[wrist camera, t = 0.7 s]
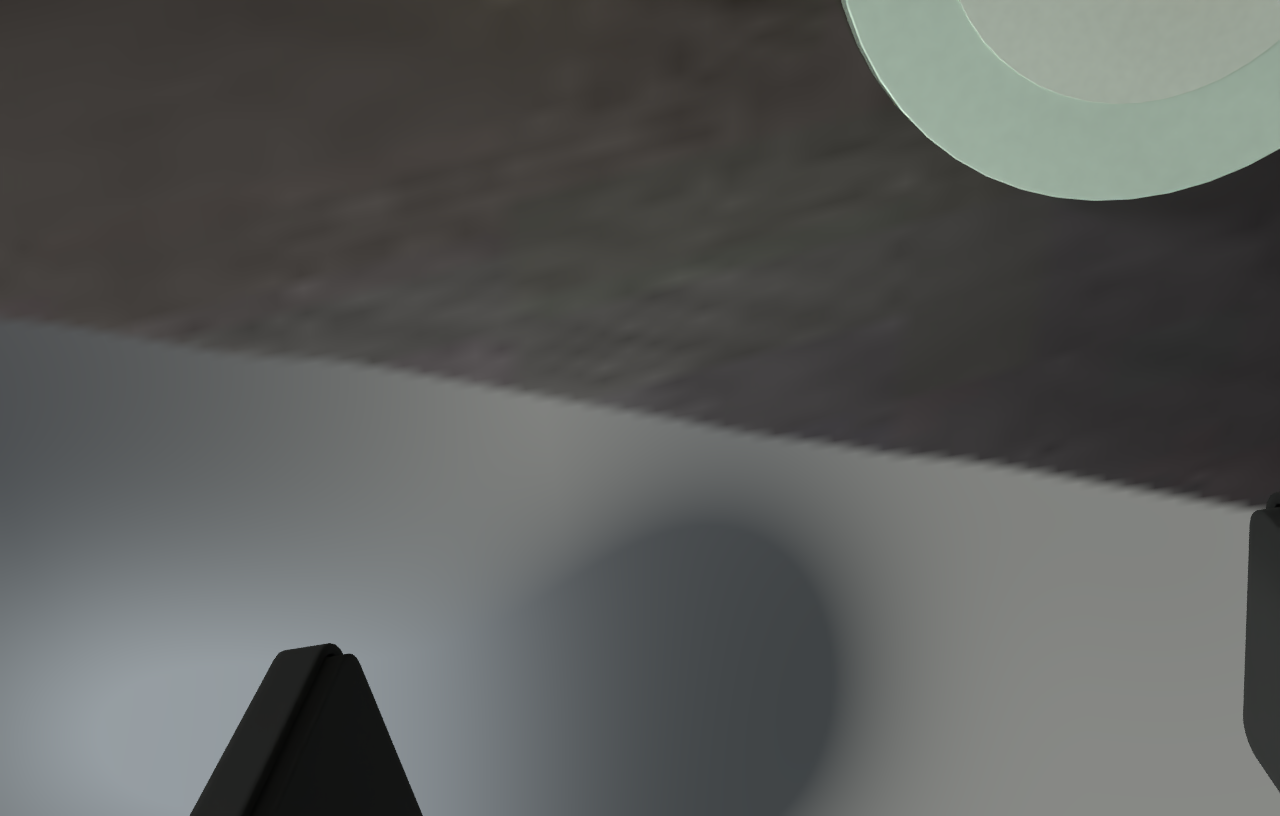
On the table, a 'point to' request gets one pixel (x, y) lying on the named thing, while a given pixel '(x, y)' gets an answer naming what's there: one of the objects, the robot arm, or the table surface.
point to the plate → (1083, 87)
